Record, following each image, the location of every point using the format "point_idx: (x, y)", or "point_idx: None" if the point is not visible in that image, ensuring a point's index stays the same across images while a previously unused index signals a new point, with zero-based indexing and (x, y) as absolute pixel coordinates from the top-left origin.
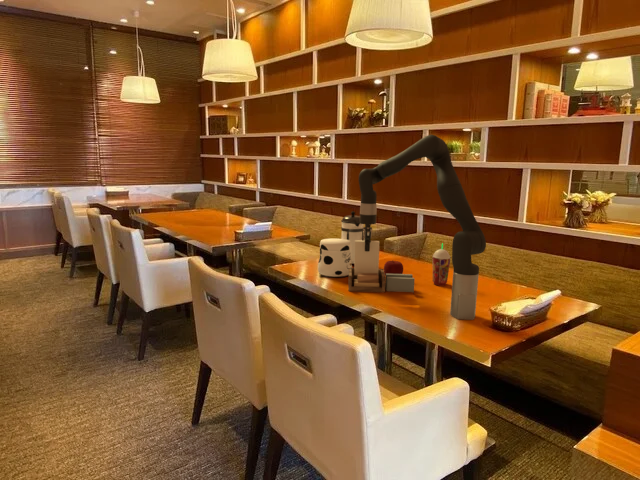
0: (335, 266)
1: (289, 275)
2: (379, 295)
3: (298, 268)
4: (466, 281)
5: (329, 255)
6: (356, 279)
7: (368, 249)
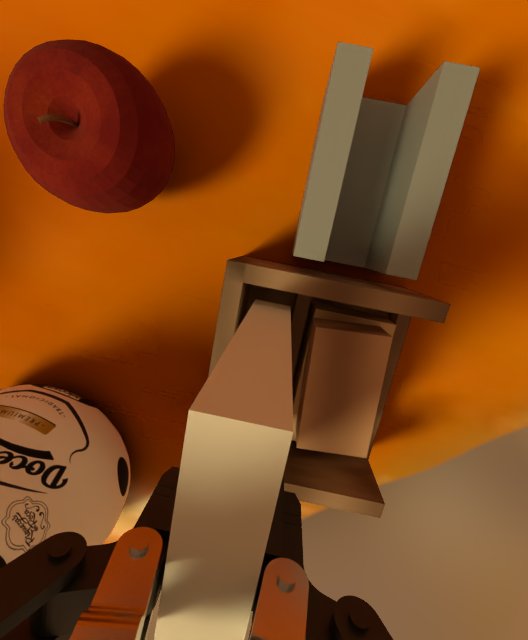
0: (103, 518)
1: None
2: (415, 318)
3: None
4: None
5: None
6: (294, 429)
7: (299, 507)
